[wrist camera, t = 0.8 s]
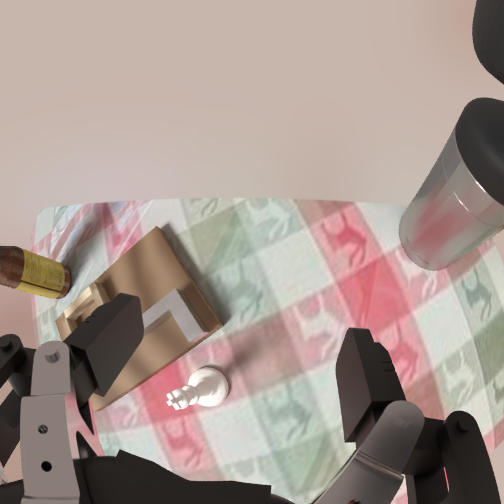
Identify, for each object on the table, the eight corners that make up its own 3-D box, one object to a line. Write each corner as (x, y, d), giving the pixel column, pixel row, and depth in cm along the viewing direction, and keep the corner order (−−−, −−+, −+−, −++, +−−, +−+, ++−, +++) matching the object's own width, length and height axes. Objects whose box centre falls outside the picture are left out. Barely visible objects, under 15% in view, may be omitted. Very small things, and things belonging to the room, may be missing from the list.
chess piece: (204, 412, 29) (165, 435, 19) (182, 379, 30) (137, 390, 21) (236, 393, 29) (207, 414, 20) (213, 359, 31) (175, 366, 21)
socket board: (161, 230, 37) (149, 220, 34) (223, 325, 32) (214, 323, 28) (61, 321, 36) (46, 319, 33) (100, 410, 31) (85, 413, 27)
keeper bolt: (182, 291, 32) (175, 288, 30) (209, 332, 30) (203, 331, 28) (131, 331, 32) (122, 330, 30) (153, 372, 30) (145, 373, 28)
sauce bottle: (64, 258, 40) (-24, 215, 22) (77, 281, 38) (-22, 241, 19) (47, 285, 39) (-40, 252, 21) (59, 309, 37) (-37, 281, 19)
